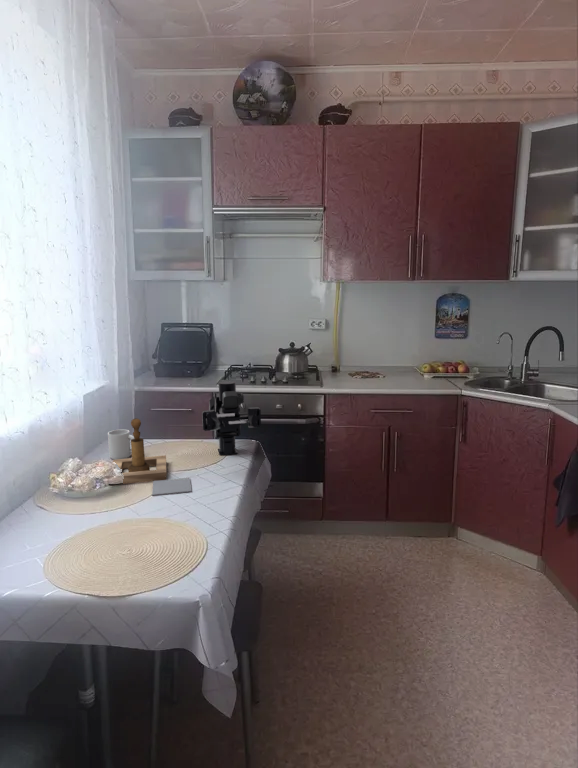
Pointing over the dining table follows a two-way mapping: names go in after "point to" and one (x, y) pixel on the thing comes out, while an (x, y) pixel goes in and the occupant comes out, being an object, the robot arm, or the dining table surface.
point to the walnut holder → (144, 475)
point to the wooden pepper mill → (137, 450)
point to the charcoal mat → (171, 486)
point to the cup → (119, 444)
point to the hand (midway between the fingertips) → (235, 425)
